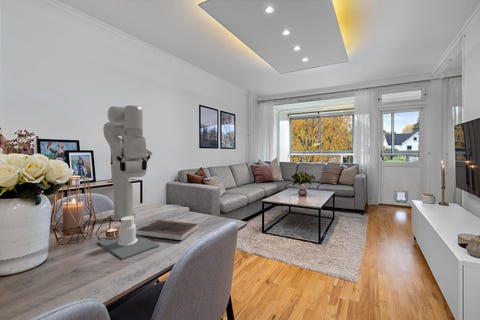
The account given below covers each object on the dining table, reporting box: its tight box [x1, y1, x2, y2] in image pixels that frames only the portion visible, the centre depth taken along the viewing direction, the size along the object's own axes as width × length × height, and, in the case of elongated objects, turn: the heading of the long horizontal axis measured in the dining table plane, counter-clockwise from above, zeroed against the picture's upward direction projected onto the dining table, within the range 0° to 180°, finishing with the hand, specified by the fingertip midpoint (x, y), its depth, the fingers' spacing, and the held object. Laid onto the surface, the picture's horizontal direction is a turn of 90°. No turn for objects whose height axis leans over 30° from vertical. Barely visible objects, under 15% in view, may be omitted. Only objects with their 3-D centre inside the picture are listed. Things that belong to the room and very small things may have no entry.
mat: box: [97, 234, 160, 261], centre depth 88 cm, size 22×14×1 cm, turn 52°
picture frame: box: [136, 219, 199, 241], centre depth 102 cm, size 16×2×22 cm
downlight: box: [118, 216, 137, 246], centre depth 89 cm, size 8×7×10 cm
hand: (134, 170), depth 102 cm, fingers open, 9 cm apart
